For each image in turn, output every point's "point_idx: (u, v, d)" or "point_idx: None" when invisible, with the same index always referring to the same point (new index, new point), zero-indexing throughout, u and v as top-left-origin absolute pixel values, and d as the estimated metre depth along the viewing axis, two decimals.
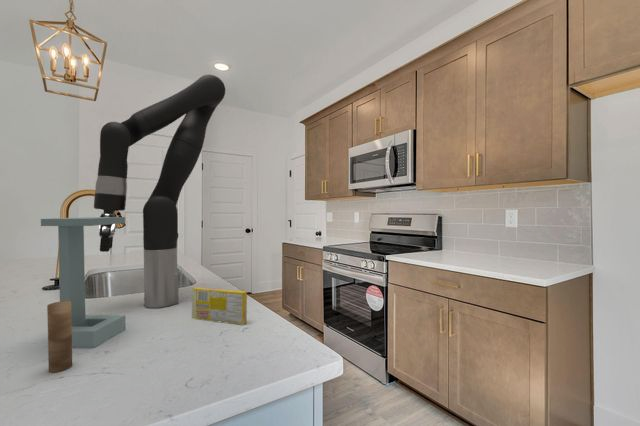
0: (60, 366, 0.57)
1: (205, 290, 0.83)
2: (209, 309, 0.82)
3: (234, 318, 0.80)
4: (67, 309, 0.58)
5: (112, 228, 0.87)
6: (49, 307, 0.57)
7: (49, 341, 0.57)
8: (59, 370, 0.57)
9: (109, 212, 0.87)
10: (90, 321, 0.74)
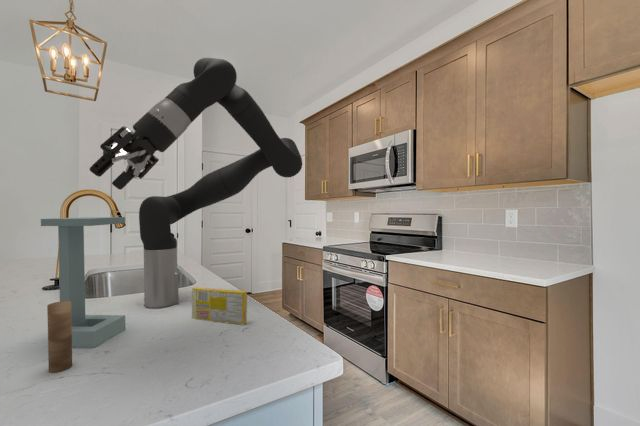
0: (60, 366, 0.57)
1: (205, 290, 0.83)
2: (209, 309, 0.82)
3: (234, 318, 0.80)
4: (67, 309, 0.58)
5: (125, 154, 0.61)
6: (49, 307, 0.57)
7: (49, 341, 0.57)
8: (59, 370, 0.57)
9: (138, 135, 0.62)
10: (90, 321, 0.74)
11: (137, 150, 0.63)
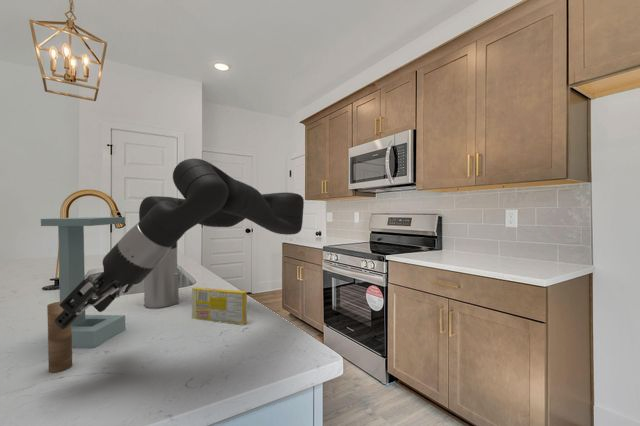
0: (60, 366, 0.57)
1: (205, 290, 0.83)
2: (209, 309, 0.82)
3: (234, 318, 0.80)
4: None
5: (92, 302, 0.53)
6: (49, 307, 0.57)
7: (49, 341, 0.57)
8: (59, 370, 0.57)
9: (105, 279, 0.53)
10: (90, 321, 0.74)
11: (108, 291, 0.54)
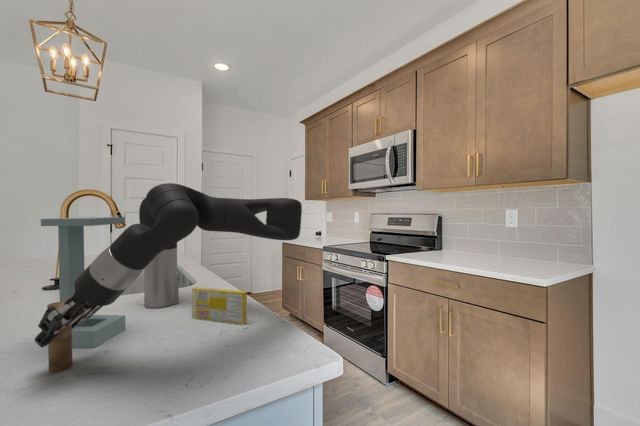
0: (60, 366, 0.57)
1: (205, 290, 0.83)
2: (209, 308, 0.82)
3: (234, 318, 0.80)
4: None
5: (66, 324, 0.56)
6: (49, 307, 0.57)
7: None
8: (59, 370, 0.57)
9: (76, 301, 0.54)
10: (90, 321, 0.74)
11: (79, 313, 0.56)
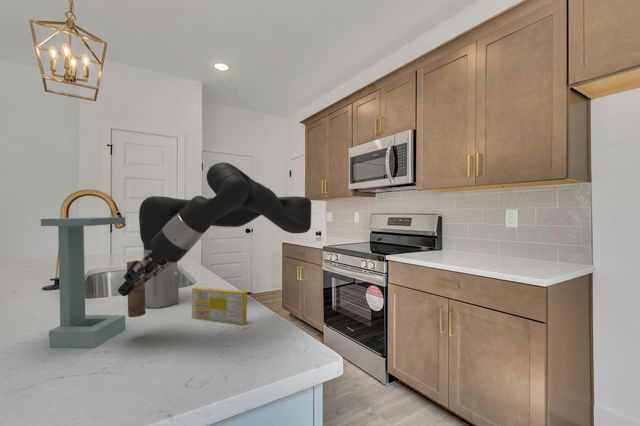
0: (138, 312, 0.70)
1: (205, 290, 0.83)
2: (209, 308, 0.82)
3: (234, 318, 0.80)
4: None
5: (143, 277, 0.68)
6: (129, 264, 0.69)
7: None
8: (137, 315, 0.70)
9: (153, 257, 0.67)
10: (90, 321, 0.74)
11: (153, 268, 0.69)
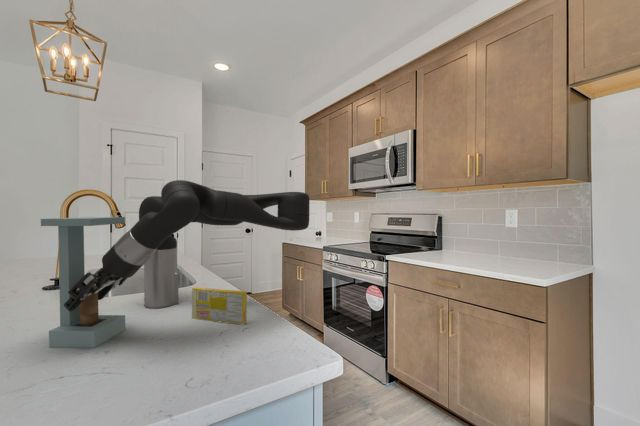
0: None
1: (205, 290, 0.83)
2: (209, 309, 0.82)
3: (234, 318, 0.80)
4: None
5: (93, 291, 0.68)
6: None
7: (81, 315, 0.70)
8: None
9: (104, 273, 0.68)
10: None
11: (105, 283, 0.69)
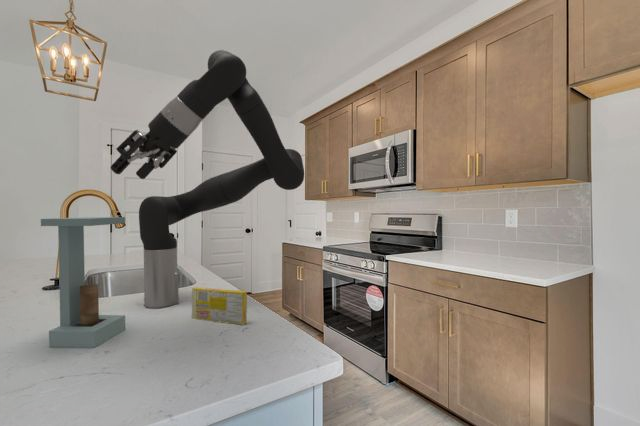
0: None
1: (205, 290, 0.83)
2: (209, 309, 0.82)
3: (234, 318, 0.80)
4: (95, 290, 0.71)
5: (139, 154, 0.67)
6: (81, 288, 0.70)
7: (81, 315, 0.70)
8: None
9: (151, 136, 0.67)
10: None
11: (151, 149, 0.68)
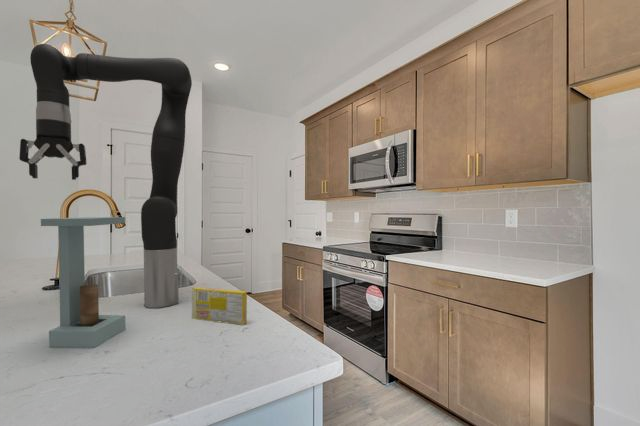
0: None
1: (205, 290, 0.83)
2: (209, 309, 0.82)
3: (234, 318, 0.80)
4: (95, 290, 0.71)
5: None
6: (81, 288, 0.70)
7: (81, 315, 0.70)
8: None
9: None
10: None
11: None
